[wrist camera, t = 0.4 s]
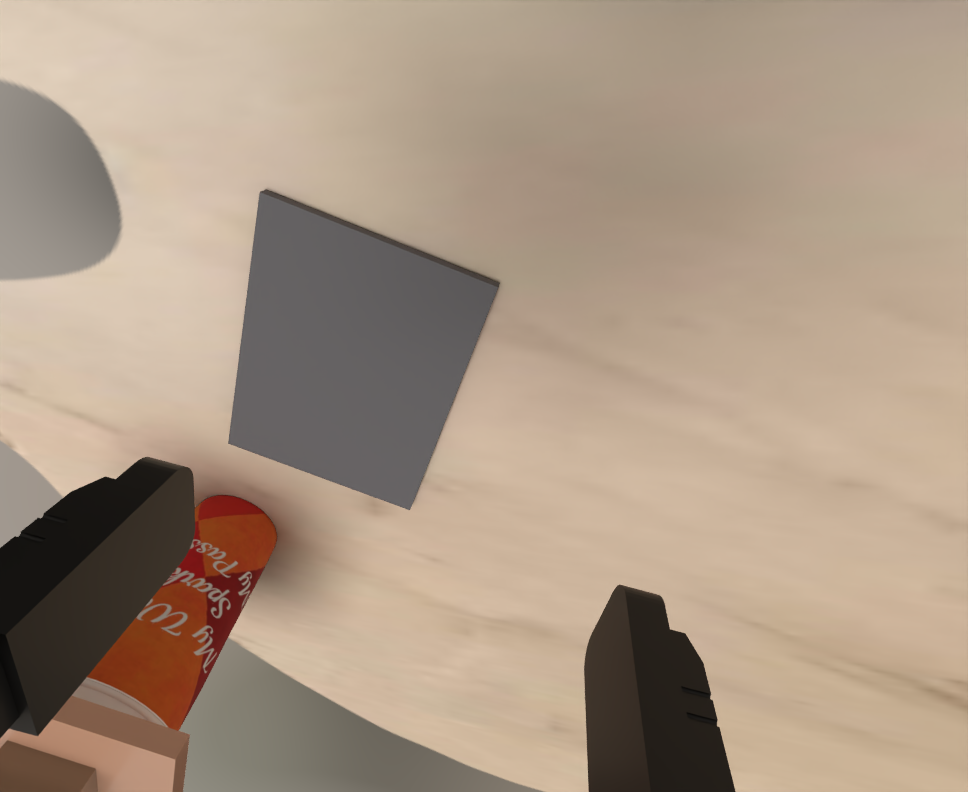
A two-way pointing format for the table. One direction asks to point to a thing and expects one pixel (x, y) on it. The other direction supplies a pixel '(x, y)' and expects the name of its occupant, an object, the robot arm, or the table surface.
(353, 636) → the table surface
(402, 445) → the mat
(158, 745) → the cover
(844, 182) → the table surface
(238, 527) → the coffee cup
